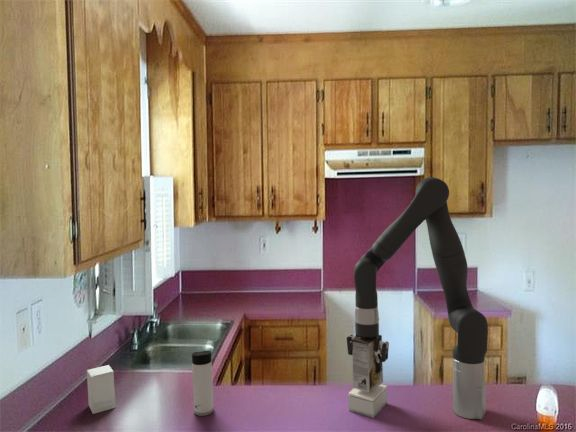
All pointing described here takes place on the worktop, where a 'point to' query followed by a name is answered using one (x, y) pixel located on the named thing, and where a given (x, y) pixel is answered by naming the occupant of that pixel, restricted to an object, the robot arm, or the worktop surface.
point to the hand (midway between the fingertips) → (367, 370)
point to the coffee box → (365, 364)
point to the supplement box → (101, 389)
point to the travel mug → (202, 383)
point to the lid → (366, 395)
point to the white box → (367, 405)
